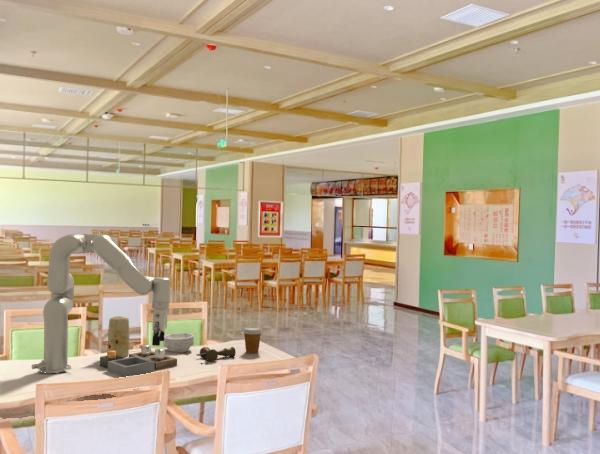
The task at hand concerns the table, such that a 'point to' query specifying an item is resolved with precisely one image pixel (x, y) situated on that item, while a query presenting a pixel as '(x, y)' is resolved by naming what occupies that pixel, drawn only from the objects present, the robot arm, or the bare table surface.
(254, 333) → the disposable coffee cup
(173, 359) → the brown compartment tray
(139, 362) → the tray
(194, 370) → the table surface
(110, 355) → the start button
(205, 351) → the kendama
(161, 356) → the cylinder
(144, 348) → the cylinder
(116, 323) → the food model
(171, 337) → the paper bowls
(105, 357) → the button housing
